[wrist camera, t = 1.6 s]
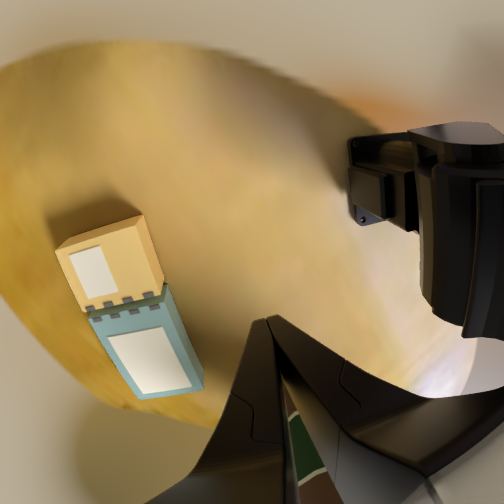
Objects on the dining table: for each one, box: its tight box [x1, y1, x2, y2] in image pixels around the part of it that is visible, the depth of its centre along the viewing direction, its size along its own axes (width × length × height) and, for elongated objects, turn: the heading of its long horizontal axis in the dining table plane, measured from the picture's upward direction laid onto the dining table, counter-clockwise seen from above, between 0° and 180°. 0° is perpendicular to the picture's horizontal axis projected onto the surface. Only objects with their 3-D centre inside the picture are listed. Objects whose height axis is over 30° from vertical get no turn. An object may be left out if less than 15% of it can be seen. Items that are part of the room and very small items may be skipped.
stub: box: [55, 214, 164, 312], centre depth 17 cm, size 6×5×2 cm
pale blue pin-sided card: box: [88, 284, 204, 400], centre depth 21 cm, size 6×9×2 cm, turn 11°
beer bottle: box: [282, 379, 344, 504], centre depth 16 cm, size 8×8×24 cm
